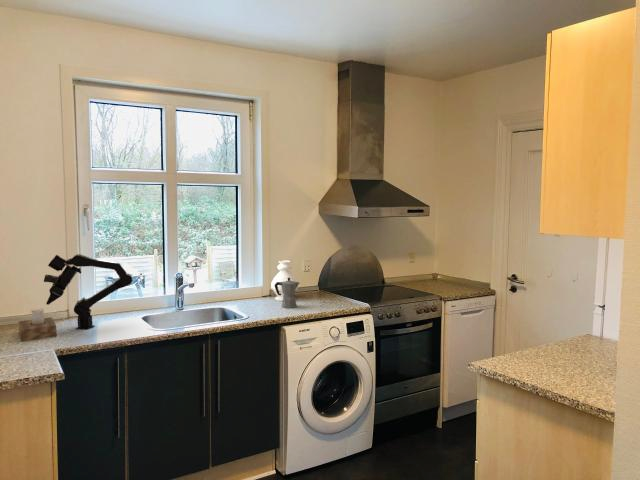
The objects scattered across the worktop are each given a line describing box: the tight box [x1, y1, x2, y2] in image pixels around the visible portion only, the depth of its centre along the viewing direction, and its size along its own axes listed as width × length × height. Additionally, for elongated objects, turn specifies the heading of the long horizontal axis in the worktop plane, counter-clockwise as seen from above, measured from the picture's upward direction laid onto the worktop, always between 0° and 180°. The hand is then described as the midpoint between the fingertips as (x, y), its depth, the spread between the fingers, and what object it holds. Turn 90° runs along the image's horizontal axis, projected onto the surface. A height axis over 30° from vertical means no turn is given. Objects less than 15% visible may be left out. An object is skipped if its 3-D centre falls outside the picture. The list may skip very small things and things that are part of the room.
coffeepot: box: [275, 278, 300, 309], centre depth 305 cm, size 15×9×18 cm, turn 103°
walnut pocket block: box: [17, 316, 57, 342], centre depth 247 cm, size 15×20×6 cm
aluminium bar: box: [30, 308, 45, 325], centre depth 247 cm, size 5×5×10 cm
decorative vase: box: [270, 259, 299, 301], centre depth 330 cm, size 18×18×25 cm
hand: (48, 302), depth 251 cm, fingers open, 9 cm apart
